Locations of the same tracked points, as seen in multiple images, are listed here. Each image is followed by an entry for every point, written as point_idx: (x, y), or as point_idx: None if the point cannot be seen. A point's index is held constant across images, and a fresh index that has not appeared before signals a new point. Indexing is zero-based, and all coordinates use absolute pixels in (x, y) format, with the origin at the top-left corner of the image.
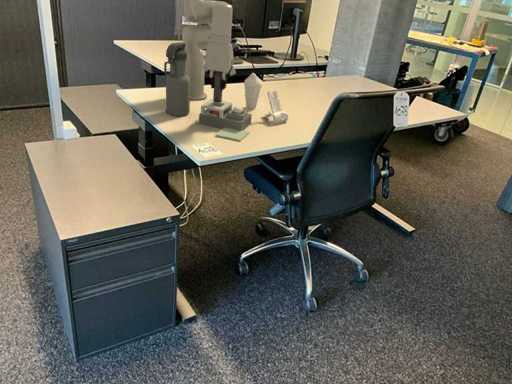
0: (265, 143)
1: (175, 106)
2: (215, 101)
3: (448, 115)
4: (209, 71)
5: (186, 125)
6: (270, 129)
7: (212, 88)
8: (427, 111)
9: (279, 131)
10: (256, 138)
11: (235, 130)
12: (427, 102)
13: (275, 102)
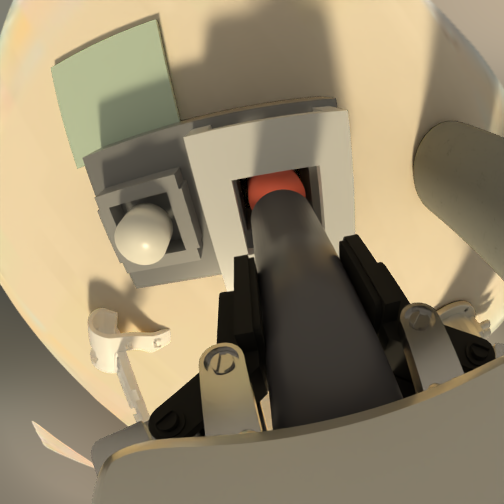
0: (2, 136)
1: (466, 130)
2: (281, 191)
3: (46, 443)
4: (465, 363)
5: (348, 43)
6: (70, 261)
7: (343, 239)
8: (64, 449)
9: (47, 265)
10: (37, 146)
11: (120, 131)
12: (92, 466)
13: (132, 394)
